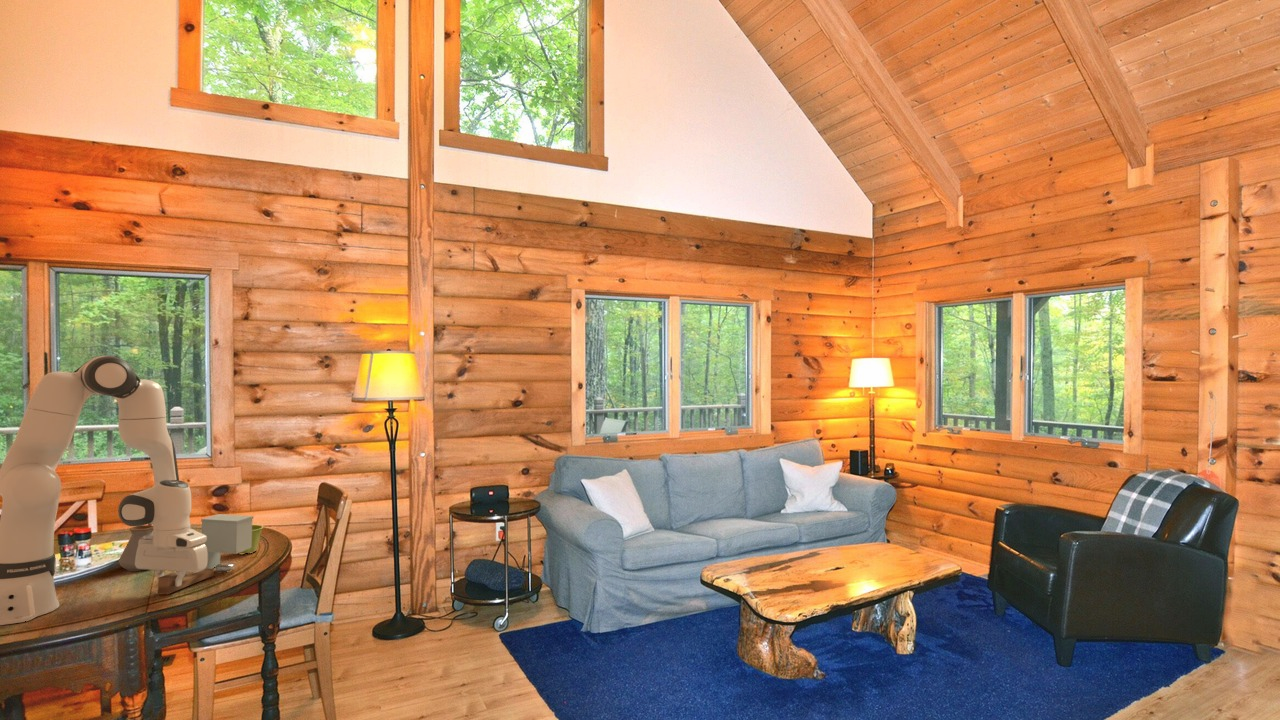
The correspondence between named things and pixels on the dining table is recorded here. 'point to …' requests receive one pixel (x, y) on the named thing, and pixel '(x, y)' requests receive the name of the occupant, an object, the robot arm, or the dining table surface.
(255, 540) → the plant pot
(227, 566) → the steel token
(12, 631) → the dining table surface
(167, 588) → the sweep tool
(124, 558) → the coffee pot
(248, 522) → the grey cube on pedestal
